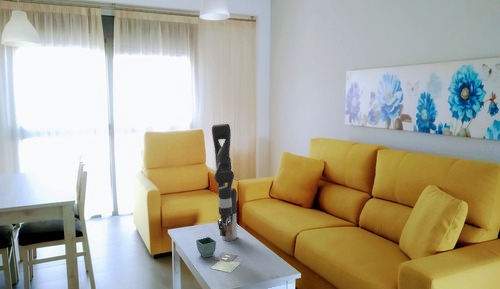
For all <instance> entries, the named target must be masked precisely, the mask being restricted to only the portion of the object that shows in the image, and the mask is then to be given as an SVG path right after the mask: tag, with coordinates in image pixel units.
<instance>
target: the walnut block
mask: <svg viewBox="0 0 500 289" xmlns="http://www.w3.org/2000/svg"><path fill="white" fill-rule="evenodd" d="M223 224H225V223H223ZM223 227H224V226H223ZM225 231H226V236H224V237H229V236H230V235H231V234H232V224H229V223H227V226H226V228H225ZM219 237H222V231H221V230H219Z"/></svg>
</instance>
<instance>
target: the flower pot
mask: <svg viewBox="0 0 500 289" xmlns="http://www.w3.org/2000/svg"><path fill="white" fill-rule="evenodd" d="M195 241H196V242H195V244H196V248H197V251H198V252H199V254H200V256H202V257H203V258H205V259H206V258H208V257H212V256H213V255H214V253H215V251H216V249H217V248H216V246H217V241H216V240H215V239H213V238H211V237H210V236H206V237H203V238H200V239H196V240H195Z"/></svg>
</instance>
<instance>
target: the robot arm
mask: <svg viewBox="0 0 500 289" xmlns="http://www.w3.org/2000/svg"><path fill="white" fill-rule="evenodd" d="M211 133H212V134H211V136H212V141H213V142H212V143H213V145H214V156H215V157H214V158H215V166H216V167H215V168H216V170H215V173H214V181H215V182H216V183H218V184H217V186H218V188H217V192H218V194H217V195H218V215H219V216H220V218H219V219H218V220H217V227H218V230H219V231H220V230H221V231H222V236H221V237H222V240H224V241H225V242H226V241H227V242H229V241H230V242H231V241H235V240H237V237H238V229H237V228H238V226H237V225H238V224H237V205H238V204H237V202H238V201H237V198H238V195H237V194H238V193H237V192H238V191H237V190H236V188H234V187H233V182H234V178H235V174H234V172H233V170H232V159H231V157H230V148H231V139H232V138H231V137H232V136H231V135H232V134H231V133H232V132H231V126H230V124H229V123H217V124H213V125H212V126H211ZM220 140H224V142H223V143H222V145H221V143H220ZM223 223H225V224H223ZM227 223H229V224H232V234H231V235H230V236H229V237H224V236H226V231H225V228H226V226H227ZM223 226H224V227H223Z"/></svg>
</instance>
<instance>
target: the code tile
mask: <svg viewBox="0 0 500 289" xmlns="http://www.w3.org/2000/svg"><path fill="white" fill-rule="evenodd" d="M237 257H238V255H237V254H231V253H227V252H222V253H220V254H219V255H217V256H216V257H215V258H214V259H213V260H215V261H217V262H219V261H221V260H222V259H223V260H222V261H224V260H227V261H226V262H230V261H234V260H235V259H236V258H237Z"/></svg>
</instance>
